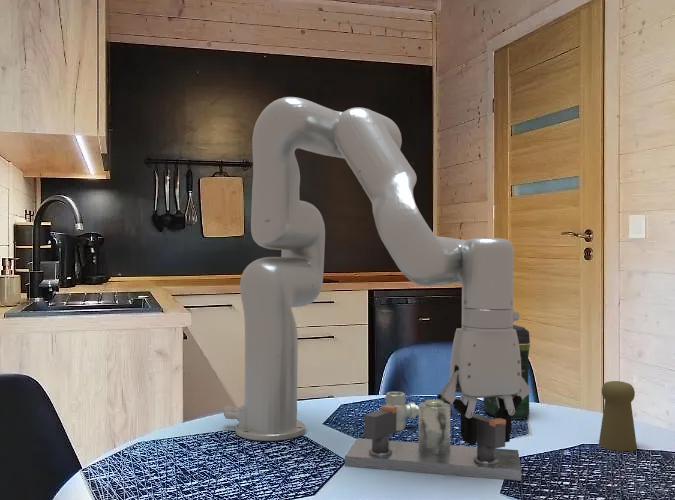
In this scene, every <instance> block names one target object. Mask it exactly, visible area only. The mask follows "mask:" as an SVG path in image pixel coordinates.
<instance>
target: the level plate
mask: <svg viewBox="0 0 675 500" xmlns="http://www.w3.org/2000/svg"><path fill="white" fill-rule="evenodd" d="M418 407H419V414H418V434H417V435H418V439H417V440H418V442H412V441H400V440H389V452H387V453H375V452H373V451H372V439H367V438H360V437H359V438H356V440H355V441H354V443H353V444H352V445H351V447H350V448H349V450H348V451H347V452H346V454H345V456H344V466H345V467H354V468H367V469H379V470H391V471H400V472H401V471H403V472H415V473H425V474H426V473H427V474H437V475H449V476H460V477H472V478H473V477H474V478H484V479H485V478H486V479H497V480H508V481H509V480H510V481H520V482H521V481H522V466H521V461H520V460H521V459H520V454H519V450H518V449H509V448H508V449H507V448H495V460H494V461H492V462H484V461H480V460H478V459H477V446H470V445H469V446H468V445H453V444H451V416H450V410H451V407H452V405H451V404H447V403H444V402H443V401H442V400H440V399H435V398H434V399H426V400H425V401H422V402H419V404H418Z"/></svg>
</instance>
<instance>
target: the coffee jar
mask: <svg viewBox="0 0 675 500" xmlns="http://www.w3.org/2000/svg"><path fill="white" fill-rule="evenodd" d="M513 329H515V330H516V332H517V337H518V342H519V348H520V357H521V376H522V378H523V379H524V380H525V382H526V383H527V385H528V386H529V353H530V348H531V339H530V330H528V329H526V327H523V326H519V325H516V324H513ZM529 387H530V386H529ZM482 400H483V403H482V405H483V406H482V408H483V410H484V412H486V413H487V414H490V415H491V416H493V417H495V413H496V411H499V408H498V404H497V400H496V397H482ZM529 415H530V393H529V394H528V395H527V396H526V397H525V398H524V399H522V401H521V403H520V404H519V405H518V407H517V408H516V409H515V413H514V415H511V420H520V419H523V418H527V417H529Z"/></svg>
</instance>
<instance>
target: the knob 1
mask: <svg viewBox="0 0 675 500" xmlns="http://www.w3.org/2000/svg"><path fill="white" fill-rule="evenodd" d="M396 412H397V407H394V406H389V405H386V404H384V405H381V408H380V409H378V410H375V411H372V412H369V413H366V414H364V421H363V422H364V423H363V425H364V426H363V427H364V428H363V431H364V432H363V433H364V434H363V436H364V438H363V439H372V451H373V452H375V453H387V452H389V441H390V435H392V434H394V433H397V431H396Z"/></svg>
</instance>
